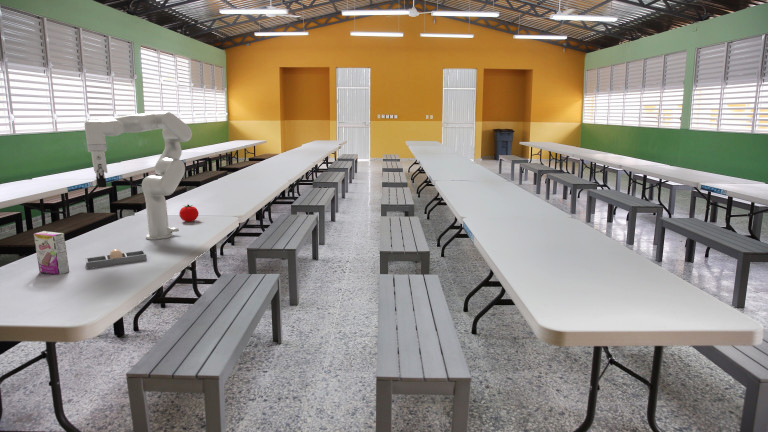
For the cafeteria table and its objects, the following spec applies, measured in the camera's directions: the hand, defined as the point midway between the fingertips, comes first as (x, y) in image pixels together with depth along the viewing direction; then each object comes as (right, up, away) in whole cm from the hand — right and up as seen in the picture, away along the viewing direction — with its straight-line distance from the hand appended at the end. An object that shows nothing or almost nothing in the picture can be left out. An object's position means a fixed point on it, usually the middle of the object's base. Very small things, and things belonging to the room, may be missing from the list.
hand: (101, 185), depth 240 cm
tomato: (+16, -17, +66) cm, 70 cm away
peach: (+14, -33, -14) cm, 38 cm away
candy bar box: (-5, -37, -27) cm, 46 cm away
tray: (+14, -34, -13) cm, 39 cm away
